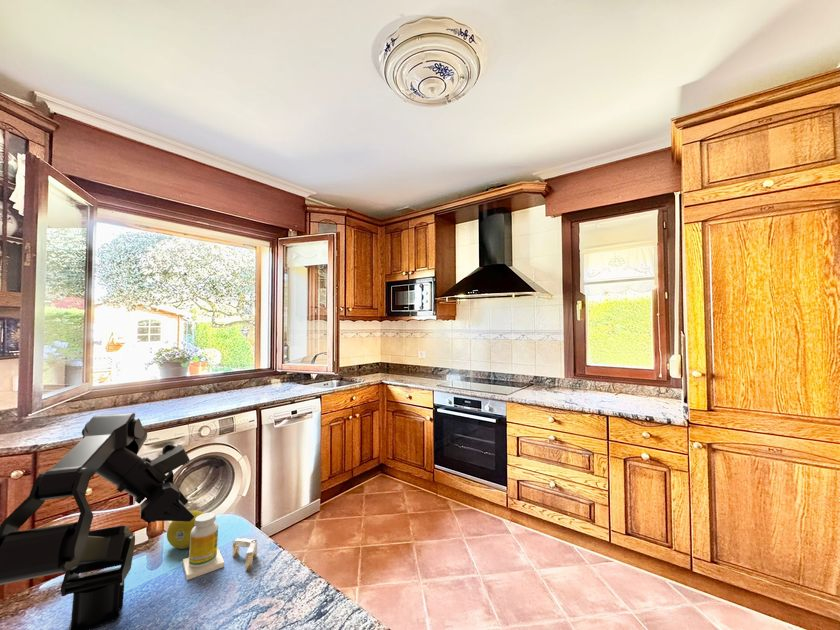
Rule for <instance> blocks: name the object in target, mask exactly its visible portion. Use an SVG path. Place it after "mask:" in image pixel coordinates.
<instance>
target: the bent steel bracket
mask: <svg viewBox="0 0 840 630" xmlns="http://www.w3.org/2000/svg"><path fill="white" fill-rule="evenodd" d="M240 547H241V548H248V549H247V551H246V555H245V563H244V564H245V572H251V571H252V570H253V562H254V561H253V560H255V559H256V558H257V557H258V540H257V539H252V538H245V537H243V538H242V537H237V538H236V539H235V540H234V541H232V553H231V554H232V557H233V558H237V557H238V556H239V555H240Z"/></svg>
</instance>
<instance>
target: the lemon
mask: <svg viewBox="0 0 840 630" xmlns="http://www.w3.org/2000/svg"><path fill="white" fill-rule="evenodd" d="M189 511H190V512H191V513H192V514H193V515H194V518H193V519H192V520H191V521H189V522H188V521H170V523H169V525H168V527H167V532H166V539H167V542H168V543H169V544H170V545H171V546H172V547H173V548H174V549H181V550H183V549H190V534H191V530H192V529H193V528H194V527H195V518H196V517H197V516H199V515H201V514H204V513H205V512H204V511H200V510H189Z"/></svg>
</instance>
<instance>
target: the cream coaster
mask: <svg viewBox="0 0 840 630" xmlns="http://www.w3.org/2000/svg"><path fill="white" fill-rule="evenodd" d="M182 565H183V571H184V575H185V579H186V581H189V580H191V579H194V578H197V577H199V576H202V575H206V574H208V573H210V572H213V571H216V570H219V569H222V568H224V567H225V561H224V558H223V556H222V554H221V551H220V548H219V547H217V556H216V558H215V560H214V561H213V562H212V563H210V564H208V565H206V566H203V567H199V568H195V567H191V566H190V565H189V557H187V558H183V559H182Z"/></svg>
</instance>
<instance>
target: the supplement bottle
mask: <svg viewBox="0 0 840 630" xmlns="http://www.w3.org/2000/svg"><path fill="white" fill-rule="evenodd" d="M216 517H217V516H216V513H215V512H204V514H201V515H199V516H197V517H196V518H195V527H194V528H193V529H192V530H191V534H190V547H189V550H188V551H189V553H188V558H189V565H190V566H191V567H195V568H199V567H203V566H206V565H208V564H210V563H212V562H213V561H214V560H215V558H216V556H217V548H218V539H219V537H218V536H219V525H218V523H217V522H216Z"/></svg>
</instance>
